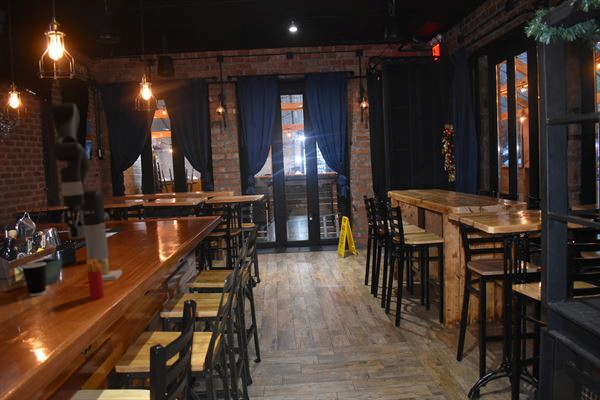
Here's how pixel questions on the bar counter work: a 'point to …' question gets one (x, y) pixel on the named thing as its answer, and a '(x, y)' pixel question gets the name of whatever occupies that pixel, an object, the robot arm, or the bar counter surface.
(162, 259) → the bar counter surface
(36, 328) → the bar counter surface
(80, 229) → the ring
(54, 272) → the flower pot
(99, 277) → the french fries
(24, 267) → the dixie cup
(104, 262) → the stand
